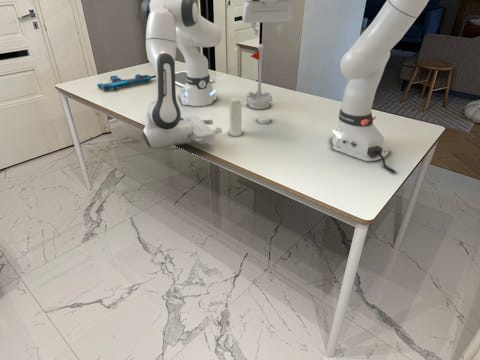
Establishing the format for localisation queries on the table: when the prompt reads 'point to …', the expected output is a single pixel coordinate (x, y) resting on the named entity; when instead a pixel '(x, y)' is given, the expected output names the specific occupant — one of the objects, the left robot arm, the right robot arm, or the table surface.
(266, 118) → the lid
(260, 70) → the flag stand
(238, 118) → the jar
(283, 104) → the table surface
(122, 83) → the submachine gun
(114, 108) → the table surface
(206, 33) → the left robot arm
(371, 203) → the table surface
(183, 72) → the tablet
